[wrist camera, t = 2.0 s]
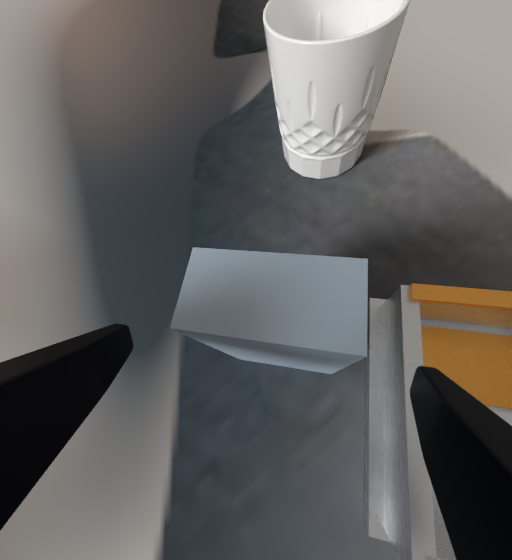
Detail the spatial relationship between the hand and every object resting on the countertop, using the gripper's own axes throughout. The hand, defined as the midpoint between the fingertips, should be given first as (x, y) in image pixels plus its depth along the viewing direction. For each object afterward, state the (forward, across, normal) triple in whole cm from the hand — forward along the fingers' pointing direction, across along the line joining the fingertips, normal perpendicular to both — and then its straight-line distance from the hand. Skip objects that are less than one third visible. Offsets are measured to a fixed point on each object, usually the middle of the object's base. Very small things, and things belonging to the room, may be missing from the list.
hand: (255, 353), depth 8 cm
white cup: (+21, -1, -6) cm, 22 cm away
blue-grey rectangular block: (+8, 0, +6) cm, 10 cm away
